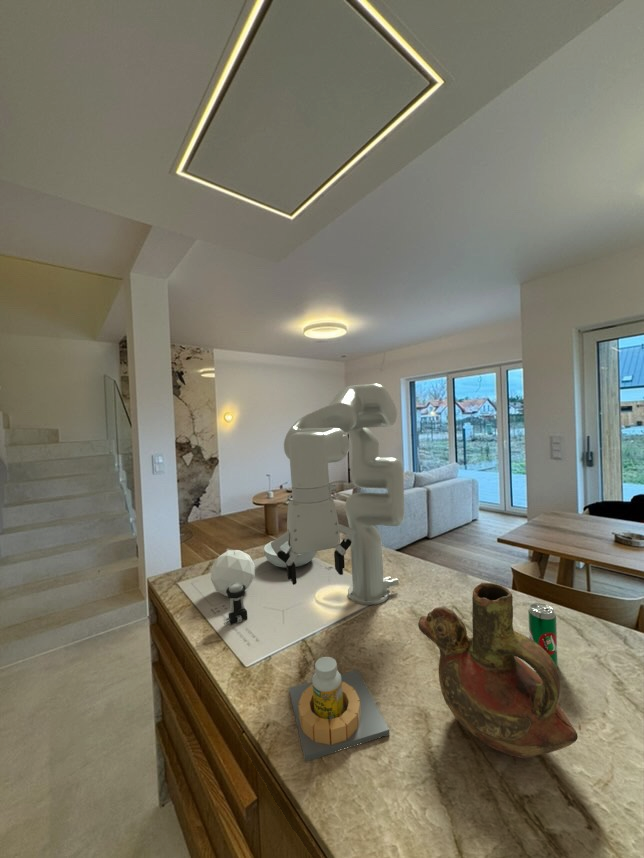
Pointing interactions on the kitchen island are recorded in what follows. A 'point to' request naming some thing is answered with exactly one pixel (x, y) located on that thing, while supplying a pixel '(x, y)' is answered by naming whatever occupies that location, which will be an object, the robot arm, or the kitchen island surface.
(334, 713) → the supplement bottle
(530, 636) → the soda can
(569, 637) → the kitchen island surface
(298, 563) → the serving bowl
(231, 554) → the geodesic sphere
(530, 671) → the ceramic vessel
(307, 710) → the collar
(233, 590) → the push button
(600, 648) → the kitchen island surface
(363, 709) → the plate
